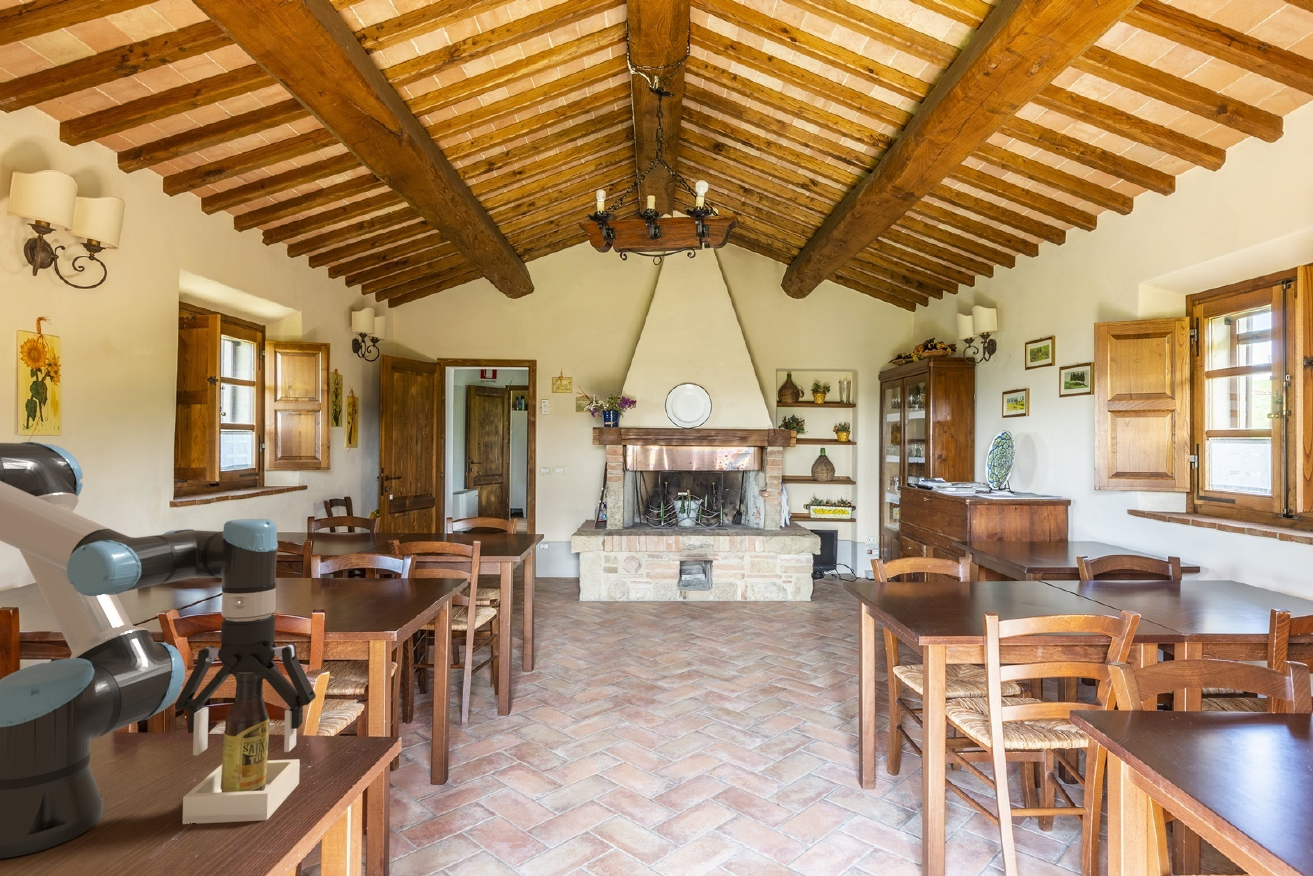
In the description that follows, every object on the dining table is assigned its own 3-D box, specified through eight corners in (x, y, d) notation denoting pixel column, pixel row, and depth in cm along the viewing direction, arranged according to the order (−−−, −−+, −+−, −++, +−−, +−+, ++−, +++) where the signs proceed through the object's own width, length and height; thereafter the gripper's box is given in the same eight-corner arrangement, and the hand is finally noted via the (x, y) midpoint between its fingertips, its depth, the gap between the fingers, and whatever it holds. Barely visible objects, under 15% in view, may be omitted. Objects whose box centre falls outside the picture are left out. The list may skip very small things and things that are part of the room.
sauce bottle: (244, 808, 106) (249, 678, 107) (210, 803, 108) (214, 675, 108) (276, 788, 113) (280, 665, 113) (243, 784, 114) (247, 662, 115)
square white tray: (182, 824, 104) (183, 797, 104) (223, 786, 116) (224, 762, 116) (267, 820, 105) (267, 793, 105) (299, 783, 117) (299, 759, 117)
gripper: (151, 623, 106) (147, 763, 105) (321, 620, 109) (318, 757, 108) (179, 612, 114) (175, 743, 113) (337, 609, 116) (335, 737, 116)
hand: (245, 750), depth 111 cm, fingers open, 13 cm apart
